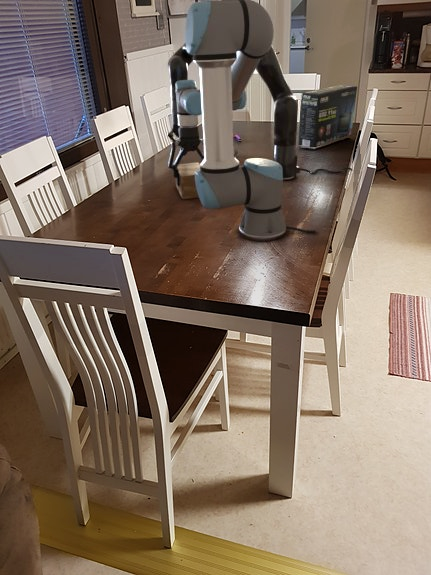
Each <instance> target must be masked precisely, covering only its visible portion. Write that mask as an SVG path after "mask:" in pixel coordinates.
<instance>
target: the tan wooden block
mask: <svg viewBox="0 0 431 575" xmlns="http://www.w3.org/2000/svg"><path fill="white" fill-rule="evenodd" d="M177 168H178V170H179V182H180V186H177V180H176V179H175V187H176V189H177V191H178V193H179V195H180V197H181V199H182V200H187V199H189V200H190V199H197V198H199V196H198V192H197V188H196V184H195V172H197V171H200V163H199V162H189V163H179V165H178V167H177Z"/></svg>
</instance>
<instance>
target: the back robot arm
mask: <svg viewBox="0 0 431 575" xmlns="http://www.w3.org/2000/svg"><path fill="white" fill-rule="evenodd" d="M192 63H193V54H192V55H191V54H188V53H187V50H186V43H185V42H184V44H183V45H181V46H180V48H178V50H177V51H175V52H174V53H173V55H171V56H170V58H169V59H168V61H167V69H168V72H169V79H170V80H169V81H170V87H169V88H170V90H169V91H170V92H169V93H170V113H171V114H170V115H171V129H170V131H169V132H167V133H166V136H167V137H168V138H169V140H171V142H172V141H174V142H176V141H179V125H178V113H177V100H176V93H175V91H176V82H177V81H180V80H189V69H188V67H189V66H190V65H191V64H192ZM255 70H256V73H257V74H258V75H259V77H260V78H261V80H262V81H263V83H264V84H265V85H266V87H267V88H268V91H269V93H270V95H271V98H272V101H273V105H274V108H273V150H272V151H273V152H272V153H273V154H272V155H273V156H272V161H275V162H277V163H279V164H280V165H281V166H282V170H283V181H291V180H294V179H295V178H297V174H300V173H301V171H304V172H307V173H308V172H309V173H308V174H310V175H315V174H316V173H317V172H319V171H322V172H326V173H331V174H339V173H342V172H343V171H340V170H330V169H326V168H316V169H315V170H314V171H310V170H309V169H306V168H301V167H300V166H298V154H296V152H297V134H298V116H299V102H298V99H297V97H296V96H295V94H294V92H293V91H292V89H291V87H290V86H289V84H288V82H287V80H286V78H285V75H284V72H283V69H282V66H281V64H280V61H279V58H278V56H277V54H276V51H275V49H274V46H273V44H272V45H271V47H270V49H269V51H268V53H267V54H266V56H264V57H263V58H261V59H260V61H259V63H258V65H257V67H256V69H255ZM174 135H175V137H176V138H177V140H176V138H175V137H174ZM177 147H179V150H180V149H181V146H180V145H178V146H177ZM187 154H188V152H186V151H185V153H184V155H183V157H184V156H187ZM329 170H330V171H329ZM341 170H344V171H346V170H349V171H351V172H353V168H351V167H349V166H347V167H344V168H342V169H341ZM310 172H312V173H310Z"/></svg>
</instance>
